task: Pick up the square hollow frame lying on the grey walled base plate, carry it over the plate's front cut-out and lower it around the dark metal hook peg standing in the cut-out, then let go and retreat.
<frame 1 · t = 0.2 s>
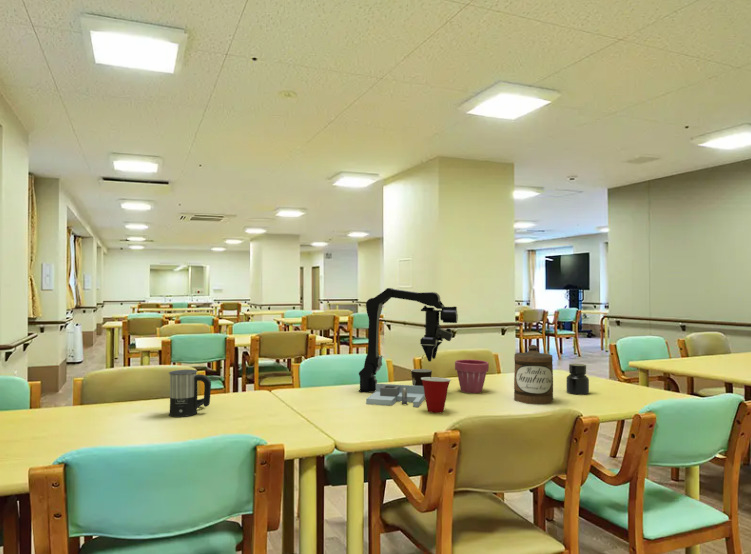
hand: (431, 360, 221), 14 cm above the table, tool pointing down, fingers open, 9 cm apart
milk frother: (188, 412, 188), on the table
ink bottle: (577, 393, 227), on the table
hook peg: (404, 404, 202), on the table
plastic cup: (435, 411, 191), on the table
square hollow frame: (389, 394, 210), point 2 cm above the table, touching grey walled base plate
plant pot: (471, 391, 229), on the table
grey walled base plate: (396, 401, 207), on the table
coffee mug: (421, 394, 222), on the table
wooden container: (533, 400, 211), on the table
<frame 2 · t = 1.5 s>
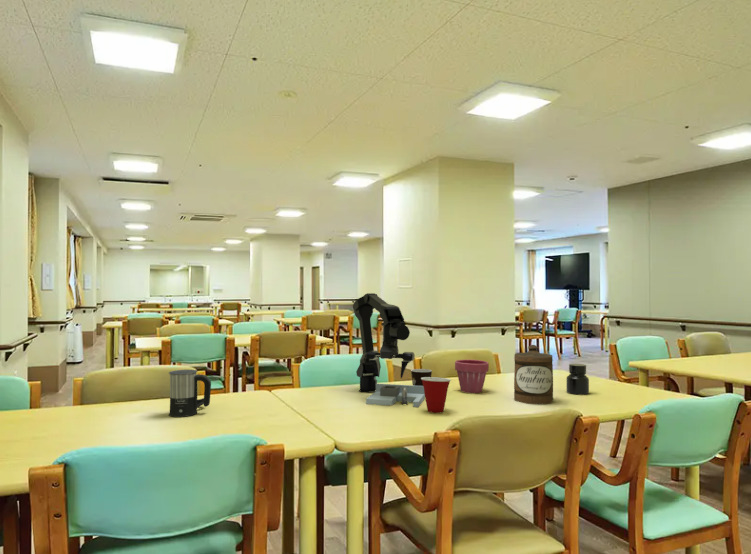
hand: (389, 377, 210), 9 cm above the table, tool pointing down, fingers open, 9 cm apart
nothing on the table moved.
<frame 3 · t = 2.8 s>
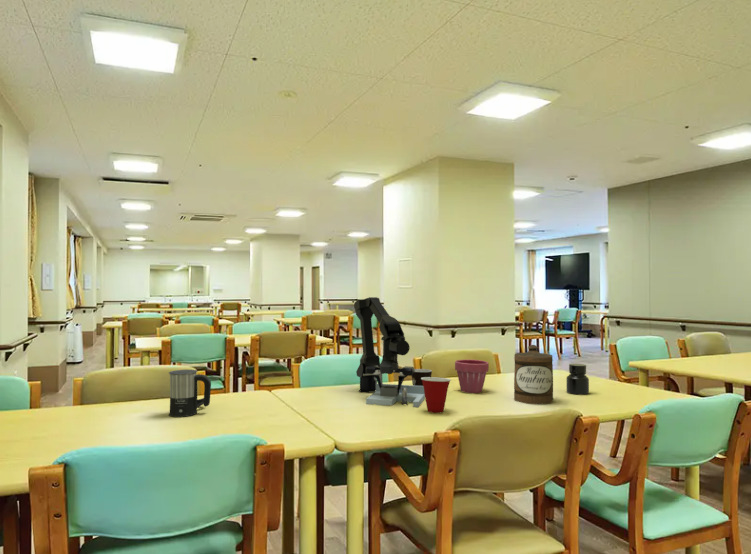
hand: (389, 392, 210), 3 cm above the table, tool pointing down, fingers closed on square hollow frame, 6 cm apart
square hollow frame: (389, 394, 210), point 2 cm above the table, touching gripper, grey walled base plate
everything else where it was.
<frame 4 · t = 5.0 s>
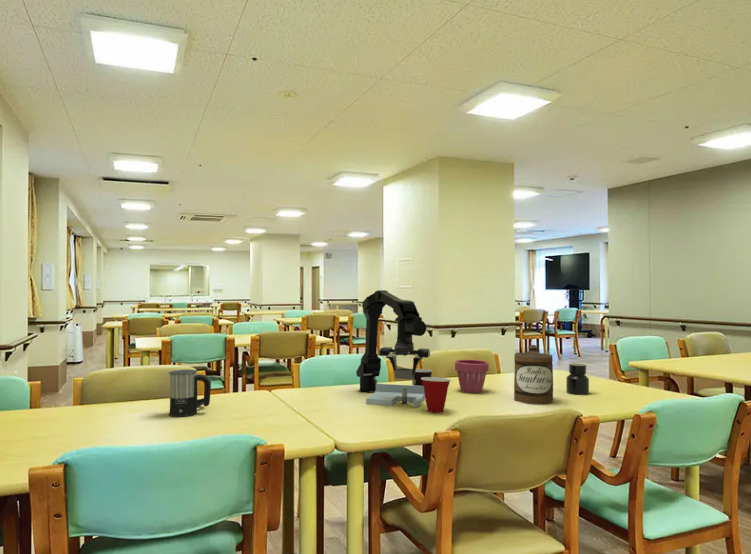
hand: (404, 374, 203), 11 cm above the table, tool pointing down, fingers closed on square hollow frame, 6 cm apart
square hollow frame: (404, 377, 203), point 10 cm above the table, touching gripper
everything else where it was.
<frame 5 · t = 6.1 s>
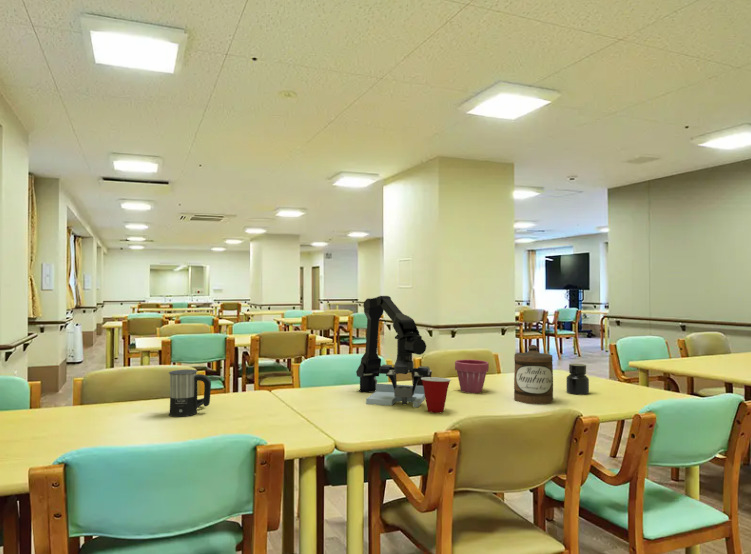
hand: (404, 392, 202), 4 cm above the table, tool pointing down, fingers closed on square hollow frame, 6 cm apart
square hollow frame: (404, 395, 202), point 3 cm above the table, touching gripper
everything else where it was.
when the fingers open (4 cm above the table, at t = 7.1 s): square hollow frame drops 3 cm, on the table.
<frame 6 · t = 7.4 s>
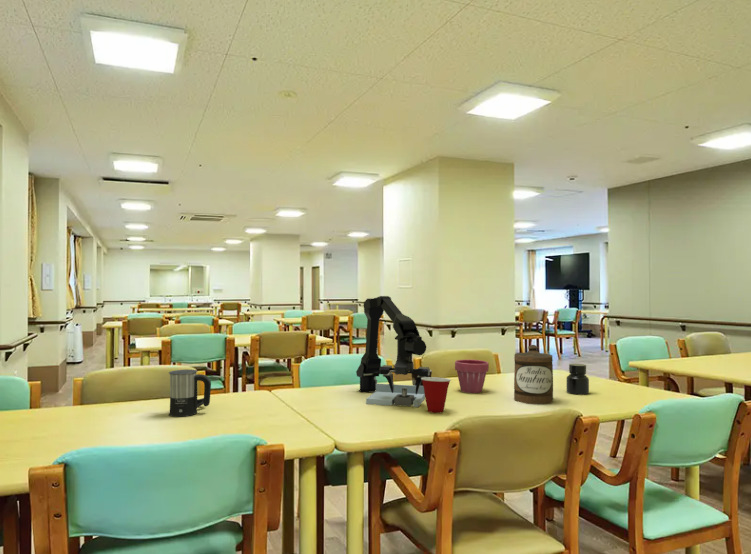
hand: (404, 393, 202), 4 cm above the table, tool pointing down, fingers open, 9 cm apart
square hollow frame: (404, 404, 202), on the table
everything else where it was.
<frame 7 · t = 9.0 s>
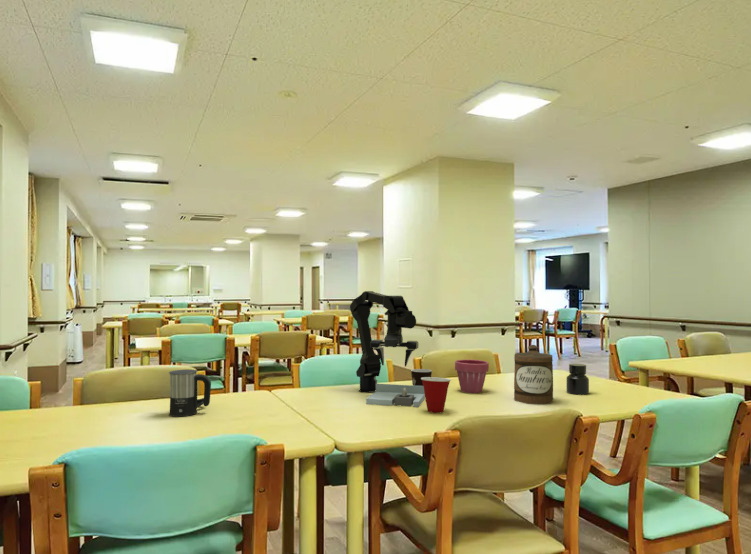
hand: (394, 365, 213), 13 cm above the table, tool pointing down, fingers open, 9 cm apart
nothing on the table moved.
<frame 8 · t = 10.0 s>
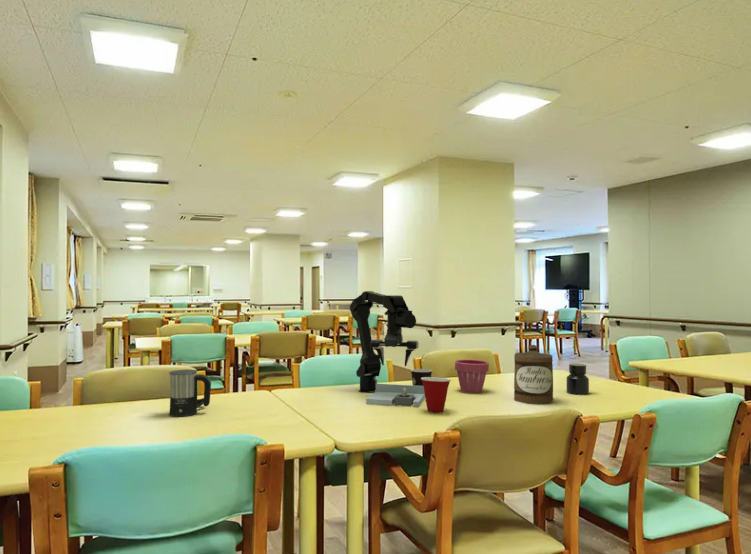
hand: (394, 365, 213), 13 cm above the table, tool pointing down, fingers open, 9 cm apart
nothing on the table moved.
at the end: square hollow frame 0.0 cm off-centre on the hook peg, point 0.0 cm above the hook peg's base; the gripper is holding nothing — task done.
